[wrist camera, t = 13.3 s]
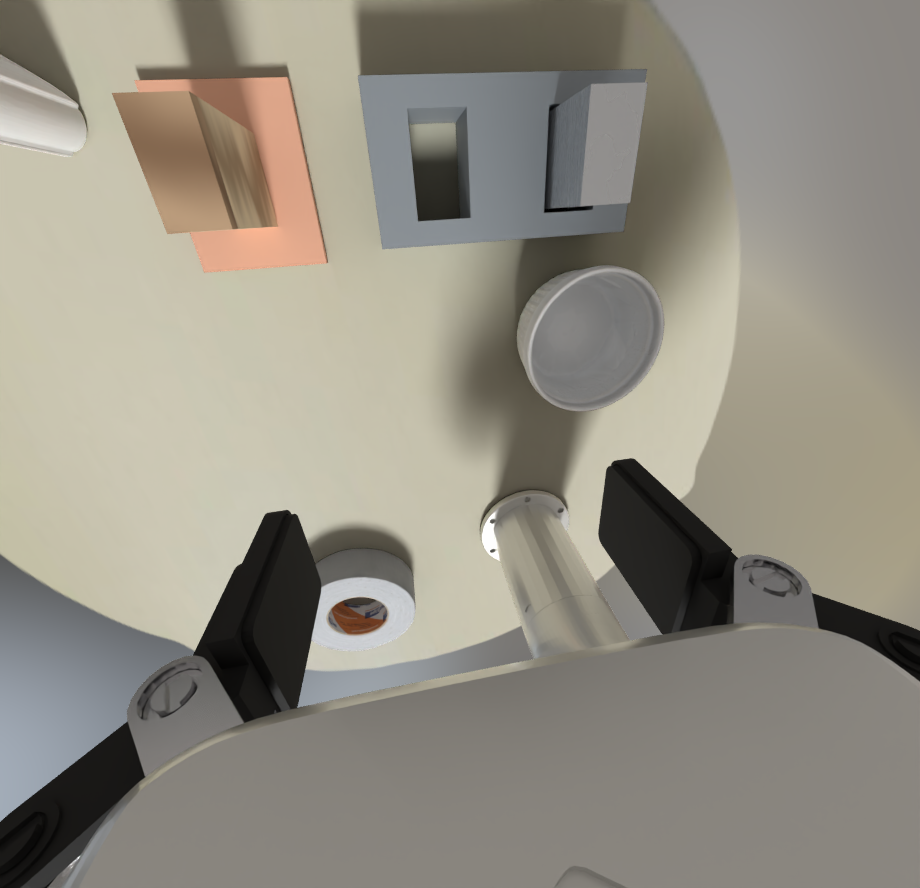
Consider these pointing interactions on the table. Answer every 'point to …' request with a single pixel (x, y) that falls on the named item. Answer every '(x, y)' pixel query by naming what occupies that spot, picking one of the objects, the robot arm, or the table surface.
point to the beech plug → (196, 163)
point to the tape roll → (363, 578)
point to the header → (478, 153)
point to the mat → (285, 168)
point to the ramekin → (590, 336)
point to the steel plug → (594, 146)
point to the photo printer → (37, 113)
